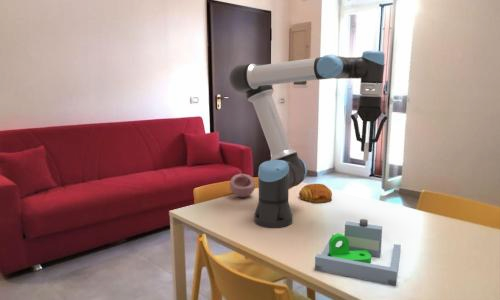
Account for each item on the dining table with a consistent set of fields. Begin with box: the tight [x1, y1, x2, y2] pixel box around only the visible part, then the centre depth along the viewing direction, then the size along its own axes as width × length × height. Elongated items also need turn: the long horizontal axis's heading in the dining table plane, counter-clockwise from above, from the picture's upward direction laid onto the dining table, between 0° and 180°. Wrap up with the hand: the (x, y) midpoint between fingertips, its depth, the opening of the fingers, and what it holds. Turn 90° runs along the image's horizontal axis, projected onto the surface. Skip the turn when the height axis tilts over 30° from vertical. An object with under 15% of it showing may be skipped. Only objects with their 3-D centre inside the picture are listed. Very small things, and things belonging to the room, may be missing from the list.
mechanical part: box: [328, 233, 372, 264], centre depth 113 cm, size 12×6×8 cm, turn 96°
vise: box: [314, 234, 401, 286], centre depth 114 cm, size 22×24×4 cm
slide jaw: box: [344, 218, 383, 258], centre depth 118 cm, size 11×3×11 cm, turn 66°
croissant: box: [298, 183, 333, 204], centre depth 174 cm, size 14×16×8 cm
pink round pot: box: [229, 173, 256, 198], centre depth 178 cm, size 12×12×12 cm
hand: (365, 160), depth 137 cm, fingers closed
